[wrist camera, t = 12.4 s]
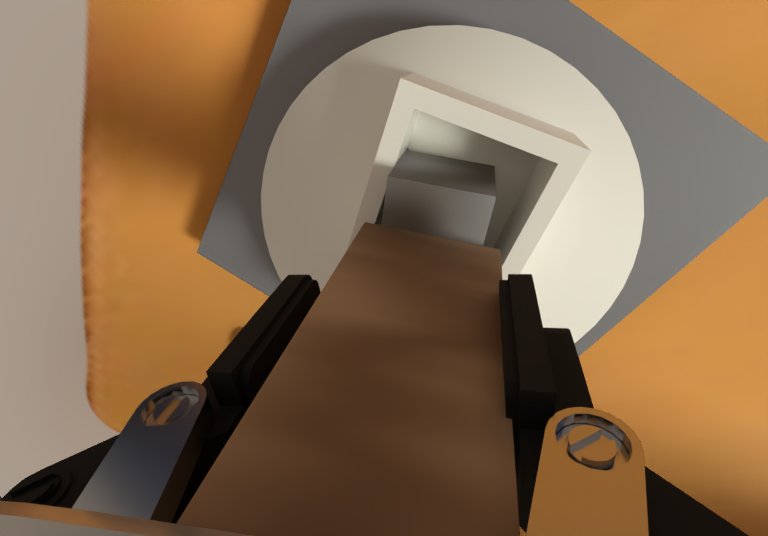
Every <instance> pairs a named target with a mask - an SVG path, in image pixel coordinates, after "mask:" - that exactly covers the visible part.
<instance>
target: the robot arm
mask: <svg viewBox="0 0 768 536" xmlns="http://www.w3.org/2000/svg"><path fill="white" fill-rule="evenodd" d="M320 293H321V292H320V287H319V284H318V281H317V280H313V279H312V277H311V276H310V275H288V276H286V278H285V279H284V280H283V281H282V282H281V284H280V285H279V286H278V287H277V288H276V289H275V291H274V292H273V293H272V294H271V295H270V297H269V298H268V299H267V300H266V301H265V303H264V304H263V305H262V306H261V307H260V308H259V310H258V311H257V312H256V313H255V314H254V316H253V317H252V318H251V319H250V320H249V322H248V323H247V324H246V325H245V326H244V327H243V329H242V330H241V331H240V332H239V333H238V335H237V336H236V337H235V338H234V339H233V341H232V342H231V343H230V344H229V345H228V346H227V348H226V349H225V350H224V351H223V352H222V354H221V355H220V356H219V357H218V358H217V360H216V361H215V362H214V363H213V364H212V365H211V367H210V368H209V369H208V370H207V371H206V373H207V375H208V377H207V378H206V380H205V381H204V382H203V383H202V384H200V383H196V382H179V383H175V384H171V385H169V386H166V387H164V388H162V389H160V390H158V391H156V392H155V393H153V394H151V395H150V396H149V397H148V398H146V399H145V400H144V401H143V402H142V403H141V404H140V405H139V406H138V408H137V409H136V410H135V412H134V413H133V415H132V416H131V418H130V419H129V421H128V422H127V424H126V426H125V427H124V429H123V430H122V432H121V433H120V434H119V435H117V436H114V437H112V438H110V439H108V440H106V441H103V442H101V443H99V444H97V445H95V446H92V447H90V448H88V449H86V450H84V451H81V452H79V453H77V454H75V455H73V456H70V457H68V458H66V459H64V460H62V461H59V462H57V463H55V464H53V465H51V466H48V467H46V468H44V469H42V470H40V471H38V472H36V473H35V474H32V475H30V476H28V477H27V478H25V479H24V480H22V481H21V482H20V483H19V484H17V485H16V486H15V487H13V488H12V489H11V490H10V491H9V492H8V493H7V494H6V495H5V496H4V497H3V498H1V497H0V536H252V535H246V534H239V533H233V532H226V531H220V530H214V529H207V528H201V527H194V526H187V525H181V524H176V523H177V522H178V520H179V519H180V517H181V515H182V514H183V512H184V511H185V509H186V507H187V506H188V504H189V503H190V501H191V499H192V498H193V496H194V495H195V493H196V491H197V490H198V488H199V487H200V485H201V483H202V482H203V480H204V479H205V477H206V475H207V474H208V472H209V470H210V469H211V467H212V466H213V464H214V462H215V461H216V459H217V458H218V456H219V454H220V453H221V451H222V450H223V448H224V446H225V445H226V443H227V442H228V440H229V438H230V437H231V435H232V434H233V432H234V430H235V429H236V427H237V426H238V424H239V422H240V421H241V419H242V418H243V416H244V414H245V413H246V411H247V410H248V408H249V406H250V405H251V403H252V402H253V400H254V398H255V397H256V395H257V394H258V392H259V390H260V389H261V387H262V386H263V384H264V382H265V381H266V379H267V378H268V376H269V374H270V373H271V371H272V370H273V368H274V366H275V365H276V363H277V362H278V360H279V358H280V357H281V355H282V354H283V352H284V350H285V349H286V347H287V346H288V344H289V342H290V341H291V339H292V338H293V336H294V334H295V333H296V331H297V330H298V328H299V326H300V325H301V323H302V322H303V320H304V318H305V317H306V315H307V314H308V312H309V310H310V309H311V307H312V306H313V304H314V302H315V301H316V299H317V298H318V296H319V294H320ZM499 304H500V321H501V339H502V357H503V375H504V393H505V411H506V418H510V419H512V426H513V441H514V456H515V470H516V485H517V500H518V514H519V526H520V527H521V528H522V529H523V530H524V531H525V532H526V536H748V535H747V534H745V533H744V532H742V531H741V530H739V529H738V528H736V527H735V526H733V525H732V524H730V523H729V522H727V521H726V520H724V519H723V518H721V517H720V516H718V515H717V514H715V513H714V512H712V511H711V510H709V509H708V508H706V507H705V506H704V505H702V504H701V503H699V502H698V501H696V500H695V499H693V498H692V497H690V496H689V495H687V494H686V493H684V492H683V491H681V490H680V489H678V488H677V487H675V486H674V485H672V484H671V483H669V482H668V481H666V480H665V479H663V478H662V477H660V476H659V475H657V474H656V473H654V472H653V471H651V470H650V469H648V468H647V467H645V464H644V452H643V448H642V444H641V441H640V440H639V438H638V437H637V435H636V434H635V432H634V431H633V430H632V429H631V428H630V427H629V426H628V425H626V424H625V423H624V422H623V421H622V420H620V419H618V418H616V417H615V416H613V415H611V414H609V413H606V412H603V411H600V410H597V409H594V407H593V404H592V401H591V397H590V394H589V391H588V387H587V384H586V381H585V377H584V374H583V371H582V367H581V364H580V361H579V357H578V354H577V351H576V347H575V344H574V341H573V337H572V334H571V331H570V329H568V328H543V325H542V320H541V315H540V310H539V306H538V301H537V296H536V291H535V286H534V281H533V277H532V274H508V280H499Z"/></svg>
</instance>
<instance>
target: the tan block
mask: <svg viewBox="0 0 768 536" xmlns="http://www.w3.org/2000/svg"><path fill="white" fill-rule="evenodd" d="M496 197H497V196H496V181H495V166H492V165H487V164H481V163H476V162H470V161H465V160H459V159H454V158H448V157H443V156H437V155H432V154H426V153H421V152H415V151H410V150H406V151H405V152H404V153H403V155H402V156H401V158H400V159H399V161H398V162H397V163H396V165H395V166H394V167H393V169H392V170H391V172H390V173H389V175H388V177H387V185H386V193H385V200H384V208H383V215H382V223H381V225H377V224H373V223H368V222H364V224H363V226H362V227H361V229H360V230H359V232H358V234H357V235H356V237H355V238H354V240H353V242H352V243H351V245H350V246H349V248H348V250H347V251H346V253H345V254H344V256H343V258H342V259H341V261H340V262H339V264H338V266H337V267H336V269H335V270H334V272H333V274H332V275H331V277H330V278H329V280H328V282H327V283H326V285H325V286H324V288H323V290H322V291H321V293H320V294H319V296H318V298H317V299H316V301H315V302H314V304H313V306H312V307H311V309H310V310H309V312H308V314H307V315H306V317H305V318H304V320H303V322H302V323H301V325H300V326H299V328H298V330H297V331H296V333H295V334H294V336H293V338H292V339H291V341H290V342H289V344H288V346H287V347H286V349H285V350H284V352H283V354H282V355H281V357H280V358H279V360H278V362H277V363H276V365H275V366H274V368H273V370H272V371H271V373H270V374H269V376H268V378H267V379H266V381H265V382H264V384H263V386H262V387H261V389H260V390H259V392H258V394H257V395H256V397H255V398H254V400H253V402H252V403H251V405H250V406H249V408H248V410H247V411H246V413H245V414H244V416H243V418H242V419H241V421H240V422H239V424H238V426H237V427H236V429H235V430H234V432H233V434H232V435H231V437H230V438H229V440H228V442H227V443H226V445H225V446H224V448H223V450H222V451H221V453H220V454H219V456H218V458H217V459H216V461H215V462H214V464H213V466H212V467H211V469H210V470H209V472H208V474H207V475H206V477H205V479H204V480H203V482H202V483H201V485H200V487H199V488H198V490H197V491H196V493H195V495H194V496H193V498H192V499H191V501H190V503H189V504H188V506H187V507H186V509H185V511H184V512H183V514H182V515H181V517H180V519H179V520H178V522H177V523H176V524H181V525H187V526H194V527H201V528H207V529H214V530H220V531H226V532H233V533H239V534H246V535H252V536H520V529H519V514H518V500H517V485H516V470H515V456H514V441H513V426H512V419H510V418H506V411H505V393H504V375H503V357H502V339H501V321H500V304H499V280H503V279H502V264H501V250H500V249H496V248H491V247H486V246H483V244H484V240H485V237H486V233H487V230H488V226H489V222H490V219H491V215H492V211H493V208H494V204H495V201H496Z"/></svg>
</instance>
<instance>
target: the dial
mask: <svg viewBox="0 0 768 536" xmlns="http://www.w3.org/2000/svg"><path fill="white" fill-rule="evenodd" d="M406 150H410V151H415V152H421V153H426V154H432V155H437V156H443V157H448V158H454V159H459V160H465V161H470V162H476V163H481V164H487V165H492V166H495V181H496V196H497V197H496V201H495V204H494V208H493V211H492V215H491V219H490V222H489V226H488V230H487V233H486V237H485V240H484V244H483V246H486V247H491V248H496V249H500V250H501V264H502V279H503V280H508V274H532V277H533V281H534V286H535V291H536V296H537V301H538V306H539V310H540V315H541V320H542V325H543V328H568V329H570V331H571V334H572V337H573V341H574V343H575V342H577V341H578V340H579V339H580V338H581V337H583V336H584V335H585V334H586V333H587V332H588V331H589V330H590V329H591V328H593V327H594V326H595V325H596V324H597V322H598V321H599V320H600V319H601V318H602V317H603V315H604V314H605V313H606V312H607V311H608V310H609V308H610V307H611V306H612V304H613V303H614V301H615V300H616V298H617V296H618V295H619V293H620V292H621V290H622V289H623V287H624V285H625V283H626V281H627V278H628V276H629V274H630V272H631V270H632V268H633V265H634V262H635V259H636V255H637V252H638V249H639V245H640V242H641V235H642V228H643V220H644V190H643V184H642V179H641V173H640V168H639V163H638V160H637V157H636V154H635V151H634V149H633V146H632V143H631V140H630V137H629V135H628V134H627V132H626V130H625V128H624V126H623V124H622V123H621V121H620V119H619V117H618V115H617V113H616V112H615V110H614V109H613V108H612V107H611V105H610V104H609V103H608V101H607V100H606V99H605V98H604V96H603V95H602V94H601V92H600V91H599V90H598V89H597V88H596V87H595V86H594V85H593V84H592V83H591V82H590V81H589V80H588V79H587V78H586V77H584V76H583V75H582V74H581V73H580V72H579V71H578V70H577V69H576V68H575V67H573V66H572V65H570V64H569V63H567V62H566V61H564V60H563V59H561V58H560V57H558V56H557V55H555V54H554V53H552V52H551V51H549V50H547V49H545V48H542V47H540V46H538V45H536V44H534V43H532V42H530V41H527V40H525V39H523V38H521V37H517V36H514V35H510V34H507V33H503V32H500V31H496V30H493V29H487V28H479V27H472V26H464V25H441V26H425V27H420V28H414V29H408V30H402V31H398V32H395V33H392V34H389V35H386V36H383V37H380V38H377V39H374V40H371V41H369V42H367V43H366V44H364V45H362V46H360V47H358V48H356V49H354V50H352V51H350V52H348V53H346V54H345V55H343V56H342V57H340V58H339V59H338V60H336V61H335V62H333V63H332V64H330V65H329V66H328V67H326V68H325V69H324V70H323V71H322V72H321V73H319V74H318V75H317V76H316V77H315V78H314V79H313V80H312V81H311V82H310V83H309V84H308V85H307V86H306V87H305V88H304V89H303V91H302V92H301V93H300V94H299V96H298V97H297V98H296V99H295V101H294V102H293V103H292V105H291V106H290V107H289V109H288V111H287V112H286V114H285V116H284V118H283V119H282V121H281V123H280V125H279V126H278V128H277V131H276V133H275V136H274V138H273V141H272V143H271V146H270V148H269V151H268V155H267V159H266V163H265V167H264V172H263V180H262V189H261V214H262V222H263V228H264V235H265V239H266V243H267V246H268V250H269V253H270V257H271V259H272V262H273V264H274V266H275V269H276V271H277V274H278V276H279V278H280V279H281V281H283V280H284V279H285V278H286V276H288V275H310V276H311V277H312V279H313V280H317V281H318V284H319V287H320V292H321V291H322V290H323V288H324V286H325V285H326V283H327V282H328V280H329V278H330V277H331V275H332V274H333V272H334V270H335V269H336V267H337V266H338V264H339V262H340V261H341V259H342V258H343V256H344V254H345V253H346V251H347V250H348V248H349V246H350V245H351V243H352V242H353V240H354V238H355V237H356V235H357V234H358V232H359V230H360V229H361V227H362V226H363V224H364V222H368V223H373V224H377V225H381V223H382V215H383V208H384V200H385V193H386V185H387V177H388V175H389V173H390V172H391V170H392V169H393V167H394V166H395V165H396V163H397V162H398V161H399V159H400V158H401V156H402V155H403V153H404V152H405V151H406Z"/></svg>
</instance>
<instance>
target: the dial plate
mask: <svg viewBox="0 0 768 536" xmlns="http://www.w3.org/2000/svg"><path fill="white" fill-rule="evenodd" d="M441 25H464V26H472V27H479V28H487V29H493V30H496V31H500V32H503V33H507V34H510V35H514V36H517V37H521V38H523V39H525V40H527V41H530V42H532V43H534V44H536V45H538V46H540V47H542V48H545V49H547V50H549V51H551V52H552V53H554V54H555V55H557V56H558V57H560V58H561V59H563V60H564V61H566V62H567V63H569V64H570V65H572V66H573V67H575V68H576V69H577V70H578V71H579V72H580V73H581V74H582V75H583V76H584V77H586V78H587V79H588V80H589V81H590V82H591V83H592V84H593V85H594V86H595V87H596V88H597V89H598V90H599V91H600V92H601V94H602V95H603V96H604V98H605V99H606V100H607V101H608V103H609V104H610V105H611V107H612V108H613V109H614V110H615V112H616V113H617V115H618V117H619V119H620V121H621V123H622V124H623V126H624V128H625V130H626V132H627V134H628V135H629V137H630V140H631V143H632V146H633V149H634V151H635V154H636V157H637V160H638V163H639V168H640V173H641V179H642V184H643V190H644V220H643V228H642V235H641V242H640V245H639V249H638V252H637V255H636V259H635V262H634V265H633V268H632V270H631V272H630V274H629V276H628V278H627V281H626V283H625V285H624V287H623V289H622V290H621V292H620V293H619V295H618V296H617V298H616V300H615V301H614V303H613V304H612V306H611V307H610V308H609V310H608V311H607V312H606V313H605V314H604V315H603V317H602V318H601V319H600V320H599V321H598V322H597V324H596V325H595V326H594V327H593V328H591V329H590V330H589V331H588V332H587V333H586V334H585V335H584V336H583V337H581V338H580V339H579V340H578V341H577V342H575V343H574V344H575V347H576V351H577V354H578V356H580V355H581V354H582V353H583V352H584V351H586V350H587V349H588V348H589V347H590V346H591V345H593V344H594V343H595V342H596V341H597V340H599V339H600V338H601V337H602V336H603V335H604V334H606V333H607V332H608V331H609V330H610V329H612V328H613V327H614V326H615V325H616V324H617V323H619V322H620V321H621V320H622V319H623V318H625V317H626V316H627V315H628V314H629V313H630V312H632V311H633V310H634V309H635V308H636V307H638V306H639V305H640V304H641V303H642V302H643V301H645V300H646V299H647V298H648V297H649V296H651V295H652V294H653V293H654V292H655V291H656V290H658V289H659V288H660V287H661V286H662V285H664V284H665V283H666V282H667V281H668V280H669V279H671V278H672V277H673V276H674V275H675V274H677V273H678V272H679V271H680V270H681V269H682V268H684V267H685V266H686V265H687V264H688V263H690V262H691V261H692V260H693V259H694V258H695V257H697V256H698V255H699V254H700V253H701V252H703V251H704V250H705V249H706V248H707V247H708V246H710V245H711V244H712V243H713V242H714V241H716V240H717V239H718V238H719V237H720V236H721V235H723V234H724V233H725V232H726V231H727V230H728V229H730V228H731V227H732V226H733V225H734V224H736V223H737V222H738V221H739V220H740V219H741V218H743V217H744V216H745V215H746V214H747V213H749V212H750V211H751V210H752V209H753V208H754V207H756V206H757V205H758V204H759V203H760V202H762V201H763V200H764V199H765V198H766V197H767V196H768V143H767V142H766V141H764V140H763V139H761V138H760V137H759V136H757V135H756V134H754V133H753V132H752V131H750V130H749V129H747V128H746V127H745V126H743V125H742V124H740V123H739V122H738V121H736V120H735V119H733V118H732V117H731V116H729V115H728V114H726V113H725V112H724V111H722V110H721V109H719V108H718V107H717V106H715V105H714V104H712V103H711V102H710V101H708V100H707V99H705V98H704V97H703V96H701V95H700V94H698V93H697V92H696V91H694V90H693V89H692V88H690V87H689V86H687V85H686V84H685V83H683V82H682V81H680V80H679V79H678V78H676V77H675V76H673V75H672V74H671V73H669V72H668V71H666V70H665V69H664V68H662V67H661V66H659V65H658V64H657V63H655V62H654V61H652V60H651V59H650V58H648V57H647V56H645V55H644V54H643V53H641V52H640V51H638V50H637V49H636V48H634V47H633V46H631V45H630V44H629V43H627V42H626V41H624V40H623V39H622V38H620V37H619V36H617V35H616V34H615V33H613V32H612V31H610V30H609V29H608V28H606V27H605V26H603V25H602V24H601V23H599V22H598V21H596V20H595V19H594V18H592V17H591V16H589V15H588V14H587V13H585V12H584V11H582V10H581V9H580V8H578V7H577V6H575V5H574V4H573V3H571V2H570V1H568V0H291V3H290V5H289V8H288V11H287V13H286V16H285V19H284V21H283V24H282V27H281V29H280V32H279V35H278V37H277V40H276V43H275V45H274V48H273V51H272V53H271V56H270V59H269V61H268V64H267V67H266V69H265V72H264V75H263V77H262V80H261V83H260V85H259V88H258V91H257V93H256V96H255V99H254V101H253V104H252V107H251V109H250V112H249V115H248V117H247V120H246V123H245V125H244V128H243V131H242V133H241V136H240V139H239V141H238V144H237V147H236V149H235V152H234V155H233V157H232V160H231V163H230V165H229V168H228V171H227V173H226V176H225V179H224V181H223V184H222V187H221V189H220V192H219V195H218V197H217V200H216V203H215V205H214V208H213V211H212V213H211V216H210V219H209V221H208V224H207V227H206V229H205V232H204V235H203V237H202V240H201V243H200V245H199V248H198V251H197V253H199V254H200V255H202V256H204V257H205V258H207V259H209V260H210V261H212V262H214V263H215V264H217V265H218V266H220V267H222V268H223V269H225V270H227V271H228V272H230V273H232V274H233V275H235V276H237V277H238V278H240V279H242V280H243V281H245V282H247V283H248V284H250V285H252V286H253V287H255V288H257V289H258V290H260V291H262V292H263V293H265V294H266V295H268V296H270V295H271V294H272V293H273V292H274V291H275V289H276V288H277V287H278V286H279V285H280V284H281V282H282V281H281V279H280V278H279V276H278V274H277V271H276V269H275V266H274V264H273V262H272V259H271V257H270V253H269V250H268V246H267V243H266V239H265V235H264V228H263V222H262V214H261V189H262V180H263V172H264V167H265V163H266V159H267V155H268V151H269V148H270V146H271V143H272V141H273V138H274V136H275V133H276V131H277V128H278V126H279V125H280V123H281V121H282V119H283V118H284V116H285V114H286V112H287V111H288V109H289V107H290V106H291V105H292V103H293V102H294V101H295V99H296V98H297V97H298V96H299V94H300V93H301V92H302V91H303V89H304V88H305V87H306V86H307V85H308V84H309V83H310V82H311V81H312V80H313V79H314V78H315V77H316V76H317V75H318V74H319V73H321V72H322V71H323V70H324V69H325V68H326V67H328V66H329V65H330V64H332V63H333V62H335V61H336V60H338V59H339V58H340V57H342V56H343V55H345V54H346V53H348V52H350V51H352V50H354V49H356V48H358V47H360V46H362V45H364V44H366V43H367V42H369V41H371V40H374V39H377V38H380V37H383V36H386V35H389V34H392V33H395V32H398V31H402V30H408V29H414V28H420V27H425V26H441Z"/></svg>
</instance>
